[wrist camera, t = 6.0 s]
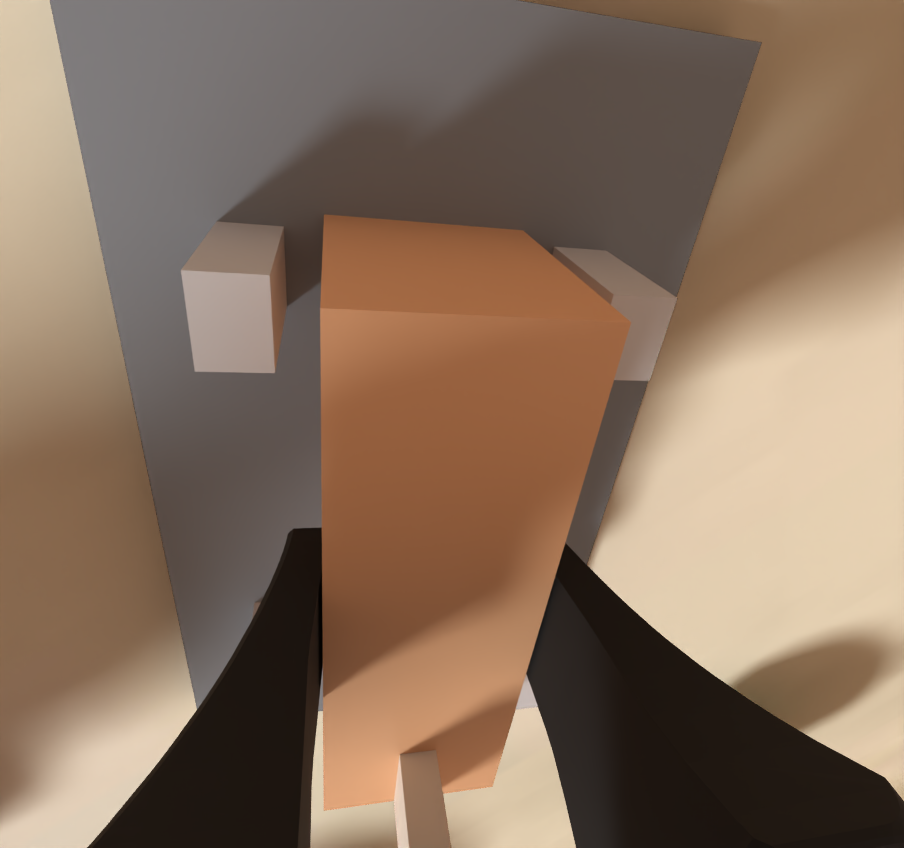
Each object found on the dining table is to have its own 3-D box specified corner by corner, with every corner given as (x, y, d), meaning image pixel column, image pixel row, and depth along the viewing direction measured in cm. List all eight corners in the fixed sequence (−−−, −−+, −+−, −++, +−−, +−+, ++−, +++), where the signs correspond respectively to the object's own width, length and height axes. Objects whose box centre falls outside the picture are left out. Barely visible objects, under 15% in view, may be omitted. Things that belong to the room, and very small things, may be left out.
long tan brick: (454, 618, 18) (520, 910, 12) (325, 628, 17) (322, 948, 11) (522, 230, 12) (742, 416, 5) (324, 213, 11) (316, 414, 5)
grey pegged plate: (537, 663, 22) (574, 771, 18) (205, 695, 19) (179, 827, 16) (729, 44, 11) (896, 35, 8) (59, -70, 9) (-106, -154, 5)
